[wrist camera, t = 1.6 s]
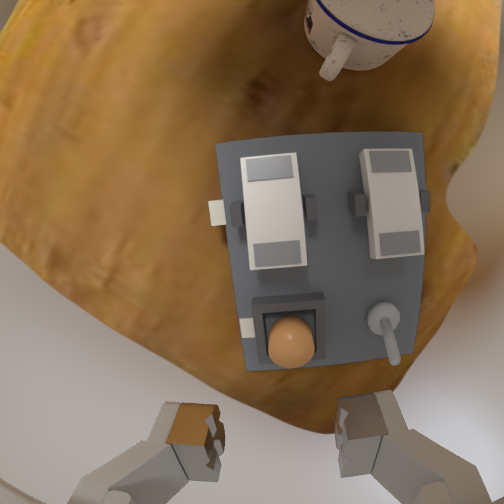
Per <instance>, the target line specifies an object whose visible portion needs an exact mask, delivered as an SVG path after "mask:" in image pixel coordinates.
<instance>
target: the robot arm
mask: <svg viewBox="0 0 504 504" xmlns="http://www.w3.org/2000/svg"><path fill="white" fill-rule="evenodd" d="M336 409H337V414H338V416H337V417H336V418H335V438H336V439H335V440H336V447H337V449H339V450H340V453H339V459H338V461H339V467H340V473H341V477H342V478H343V477H351V476H358V475H365V474H371V475H372V476H373V477H374V478H375V479H376V480H377V481H378V482H379V483H380V484H381V485H382V486H383V487H384V488H385V489H387V490H388V491H389V492H390V493H391V494H392V495H393V496H394V497H395V498H396V499H398V501H399V502H401V503H402V504H504V497H502V498H500V499H498V500H496V501H494V502H491V499H490V497H489V495H488V492H487V490H486V488H485V485H484V483H483V481H482V479H481V476H480V474H479V472H478V470H477V468H476V466H475V465H473V464H471V463H469V462H468V461H466V460H464V459H462V458H461V457H459V456H457V455H456V454H454V453H452V452H450V451H448V450H447V449H445V448H444V447H442V446H440V445H439V444H437V443H435V442H434V441H432V440H430V439H429V438H427V437H425V436H424V435H422V434H420V433H419V432H417V431H416V430H414V429H411V430H408V428H407V426H406V423H405V421H404V418H403V416H402V414H401V411H400V408H399V406H398V404H397V401H396V399H395V396H394V394H393V392H392V391H391V390H385V391H380V392H374V393H369V394H363V395H356V396H349V397H342V398H338V399H337V406H336ZM219 417H220V411H219V407H218V405H213V404H196V403H177V402H167V401H166V402H165V403H164V404H163V405H162V407H161V410H160V412H159V414H158V416H157V418H156V421H155V423H154V425H153V428H152V430H151V432H150V434H149V437H148V439H147V441H140V442H139V443H137V444H136V445H134V446H133V447H131V448H130V449H128V450H127V451H125V452H123V453H122V454H120V455H119V456H117V457H115V458H114V459H112V460H111V461H109V462H107V463H106V464H104V465H102V466H101V467H99V468H97V469H96V470H94V471H92V472H91V473H89V474H87V475H86V476H84V477H82V478H81V479H80V481H79V483H78V485H77V487H76V489H75V490H74V492H73V494H72V496H71V498H70V500H69V502H68V503H67V504H166V503H167V502H168V501H169V500H170V499H171V498H172V497H173V496H174V495H176V493H178V492H179V491H180V490H181V489H182V488H183V487H184V486H185V485H186V484H187V483H188V482H189V481H188V480H193V481H207V482H208V481H209V482H218V479H219V474H220V469H221V462H220V459H219V456H220V455H221V454H223V452H224V447H225V431H224V426H223V423H221V422H220V421H219ZM0 504H46V503H43V502H42V501H39V500H38V499H36V498H34V497H32V496H30V495H28V494H26V493H24V492H23V491H21V490H19V489H17V488H16V487H14V486H12V485H11V484H9V483H7V482H6V481H4V480H2V479H1V478H0Z"/></svg>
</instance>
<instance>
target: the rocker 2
mask: <svg viewBox="0 0 504 504" xmlns="http://www.w3.org/2000/svg"><path fill="white" fill-rule="evenodd" d="M359 160H360V167H361V174H362V181H363V189H364V194H365V196H366V215H367V225H368V236H369V249H370V258H372V259H383V258H394V257H404V256H414V255H423V254H424V238H423V226H422V216H421V206H420V198H419V190H418V183H417V176H416V170H415V164H414V158H413V153H412V149H363V150H362V152H361V153H360V154H359Z"/></svg>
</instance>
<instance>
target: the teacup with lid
mask: <svg viewBox="0 0 504 504" xmlns="http://www.w3.org/2000/svg"><path fill="white" fill-rule="evenodd" d="M434 12H435V9H434V2H433V0H308V4H307V9H306V14H305V19H304V28H305V33H306V36H307V38H308V40H309V42H310V44H311V45H312V47H313V48H314V49H315V50H316V51H317V52H318V53H319V54H320V55H321V56H322V57H323V58H324V59H326V60H325V61H324V63H323V65H322V67H321V69H320V71H319V74H320V76H321V77H322V78H324V79H326V80H328V81H332V80H334V79H335V78H336V77H337V75H338V74H339V72H340V70H341V69H342V68H345V69H349V70H356V71H364V70H371V69H374V68H377V67H379V66H381V65H383V64H384V63H385V62H386V61H388V60H389V59H390V58H391V57H393V56H394V55H395V54H396V53H397V52H399V51H400V50H401V49H402V48H404V47H405V46H406V45H407V44H409V43H412V42H414V41H417V40H418V39H420V38H422V37H423V36H424V35H425V34H426V33H427V32H428V31H429V29H430V28H431V26H432V23H433V19H434Z"/></svg>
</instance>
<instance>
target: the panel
mask: <svg viewBox="0 0 504 504" xmlns="http://www.w3.org/2000/svg"><path fill="white" fill-rule="evenodd" d="M215 146H216V155H217V163H218V171H219V179H220V188H221V196H222V200H215V201H208V203H209V211H210V218H211V225H212V226H216V225H225V227H226V234H227V242H228V249H229V256H230V264H231V271H232V278H233V285H234V292H235V299H236V306H237V313H238V320H239V326H240V333H241V340H242V346H243V353H244V359H245V366H246V371H261V370H279V369H294V368H284V367H281V366H279V365H277V364H275V363H274V362H273V361H272V360H271V358H270V356H269V352H268V348H269V331H270V328H271V326H272V324H273V323H274V322H275V321H276V320H278V319H279V318H281V317H284V316H289V315H293V316H298V317H301V318H303V319H305V320H306V321H307V322H308V323H309V325H310V327H311V330H312V336H313V341H314V348H315V350H314V354H313V356H312V358H311V359H310V361H309V362H307V363H306V364H304V365H303V366H300V367H297V368H306V367H317V366H327V365H336V364H344V363H352V362H360V361H367V360H374V359H380V358H386V357H388V358H389V362H390V364H391V365H393V366H396V365H398V364H399V363H400V361H401V357H400V355H404V354H409V353H413V350H414V345H415V339H416V333H417V326H418V319H419V312H420V304H421V295H422V285H423V274H424V260H425V241H426V212H430V192H429V191H426V177H425V158H424V145H423V134H422V132H334V133H314V134H299V135H286V136H274V137H264V138H254V139H246V140H237V141H230V142H222V143H215ZM363 149H412V153H413V158H414V164H415V170H416V176H417V183H418V190H419V198H420V206H421V216H422V226H423V238H424V254H423V255H414V256H404V257H394V258H383V259H372V258H370V249H369V236H368V225H367V215H366V196H365V194H364V189H363V181H362V174H361V167H360V160H359V154H360V153H361V152H362V150H363ZM284 153H296V155H297V163H298V172H299V181H300V190H301V200H302V209H303V220H304V231H305V242H306V254H307V266H295V267H283V268H271V269H259V270H250V265H249V254H248V243H247V231H246V219H245V208H244V196H243V184H242V173H241V161H240V158H244V157H253V156H263V155H273V154H284Z"/></svg>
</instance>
